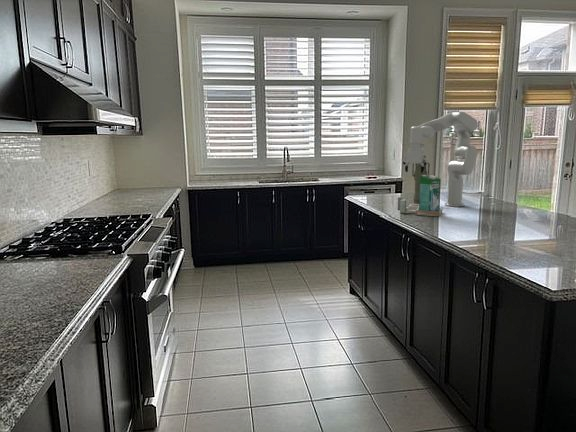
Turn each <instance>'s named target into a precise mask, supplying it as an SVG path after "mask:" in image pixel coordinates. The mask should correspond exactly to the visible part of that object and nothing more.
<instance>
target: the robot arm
mask: <svg viewBox="0 0 576 432" xmlns="http://www.w3.org/2000/svg"><path fill="white" fill-rule="evenodd" d="M452 126H453V128H454V130H455V132H456V135H457V139H456V144H455V146H454V149H453V150H454V152H453V156H454V158H455V159H457V160H451V161H449V163H448V164H447V168H446V169H447V175H448V185H447V186H448V187H447V202H445V204H444V205H445V206H446V207H464V206H465V204H464V203H462V202H463V185H464V178H463V176H469V175H470V174H472V173H473V170H474V167H475V164H476V161H477V157H478V149H477V147H476V146H475V145H470V143H471V135H470V133H469V132H475V131H476V130H477V129H478V128H479V127H478V126H479V122H478V120H477V119H476V118H475V117H473V116H471V115H470V114H468V113H467V112H464V111H452V112H449V113H446V114H445V115H443V116H441V117H438V118H436V119H433V120H430V121H427V122H424V123H422V124H420V125H418V126H411V127H410V135H409V137H410V138H409V147H408V149H407V154H406V156H405V157H404V158H401V162H402V164H403V166H404V167H405V168H404V170H405V173H408V172H409V164H413V163H414V164H415V163H420V164H421V165H422V167H421V173H423V171H424V166H425V165H426V164H427V165H428V163H429V161H430V159H428V158H427V157H426V158H424V157H423V155H424V148H423V147H425V144H424V143H423V139H430V138H432V137H433V136H435V133H437V132H443V131H445V130H446V129H449V128H450V127H452ZM423 159H424V160H426V162H425V163H424V164H423ZM405 160H406V162H405ZM427 165H426V166H427Z"/></svg>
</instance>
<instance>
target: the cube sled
mask: <svg viewBox="0 0 576 432" xmlns="http://www.w3.org/2000/svg"><path fill="white" fill-rule="evenodd" d="M402 199H404V198H403V196H398V197H397V210H400V200H402ZM411 204H412V203H410V204H409V205H408V206H406V210H416V209H417V208H419V204H418V206H411Z"/></svg>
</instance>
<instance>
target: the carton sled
mask: <svg viewBox="0 0 576 432" xmlns="http://www.w3.org/2000/svg"><path fill="white" fill-rule="evenodd" d="M407 201H408V200H407V199H405V198H403V199H402V200H400V209H399V213H400V214H415V216H426V217H427V216H429V217H440V216H441V215H442V213H443V207H440V209H439V211H425V210H419V208H417V209H416V210H406V207H407Z"/></svg>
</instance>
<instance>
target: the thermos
mask: <svg viewBox="0 0 576 432" xmlns="http://www.w3.org/2000/svg"><path fill="white" fill-rule="evenodd" d="M423 157H424V158H426V159H427V156H426V155H424V154H423ZM425 162H426V160H424V159H423V164H424V163H425ZM414 165H415V167H414ZM411 166H412V170H411V171H412V172H411V175H412V177H413V180H414V193H413V204H419V192H420V175H429V174H430V163H429V162H428V163H427V164H426V165H425V166H424V171H423V173H421V167H422V165H421V164H420V163H411ZM414 168H415V169H414Z"/></svg>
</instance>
